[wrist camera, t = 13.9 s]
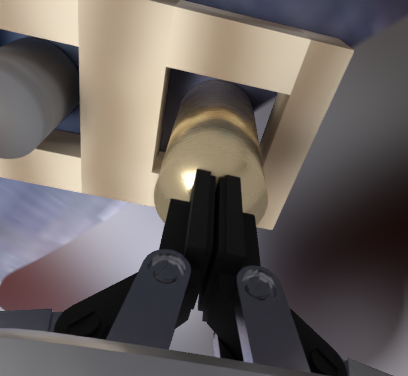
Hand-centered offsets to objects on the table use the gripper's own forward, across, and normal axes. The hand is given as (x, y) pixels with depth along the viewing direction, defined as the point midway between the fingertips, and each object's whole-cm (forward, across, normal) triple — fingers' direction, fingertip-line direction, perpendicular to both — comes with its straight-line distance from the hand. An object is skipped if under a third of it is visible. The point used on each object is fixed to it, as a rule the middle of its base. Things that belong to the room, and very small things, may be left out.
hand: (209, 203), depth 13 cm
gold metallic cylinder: (+8, 0, 0) cm, 8 cm away
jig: (+8, +5, 0) cm, 9 cm away
